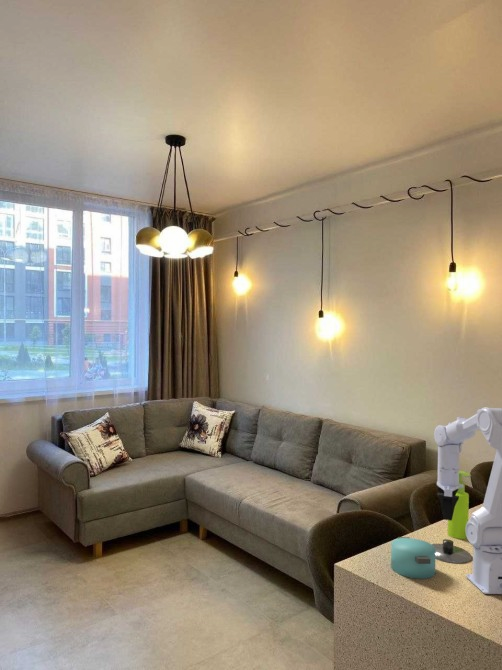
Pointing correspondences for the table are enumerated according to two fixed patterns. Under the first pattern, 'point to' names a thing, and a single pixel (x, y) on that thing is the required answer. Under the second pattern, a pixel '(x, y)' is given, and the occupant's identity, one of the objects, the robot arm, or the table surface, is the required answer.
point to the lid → (451, 553)
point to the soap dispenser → (460, 512)
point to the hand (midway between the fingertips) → (447, 515)
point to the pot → (413, 558)
